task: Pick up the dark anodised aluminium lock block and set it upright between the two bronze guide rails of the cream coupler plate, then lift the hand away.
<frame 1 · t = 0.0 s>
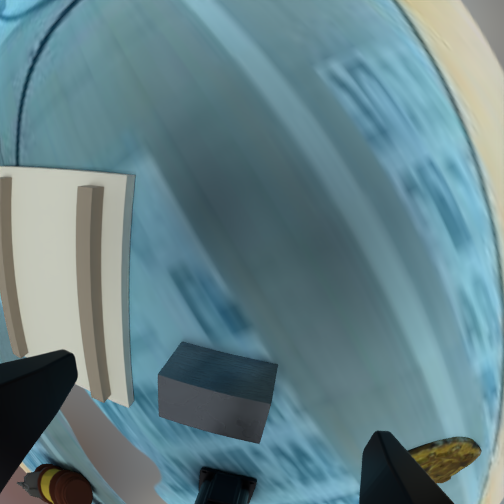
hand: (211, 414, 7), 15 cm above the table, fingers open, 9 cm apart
lock block: (226, 374, 25), on the table
seal: (424, 462, 25), on the table
coupler plate: (54, 283, 25), on the table
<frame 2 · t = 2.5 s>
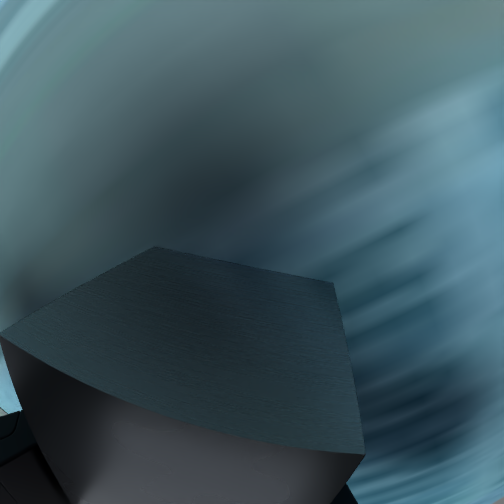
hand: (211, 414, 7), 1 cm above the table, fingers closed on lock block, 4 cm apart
lock block: (220, 391, 8), on the table, touching gripper
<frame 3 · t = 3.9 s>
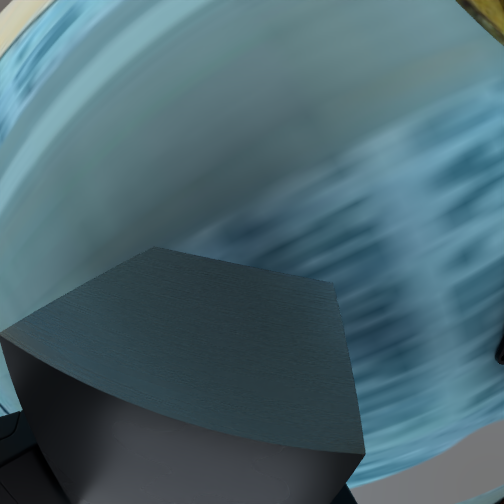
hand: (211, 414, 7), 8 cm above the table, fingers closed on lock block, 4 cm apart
lock block: (220, 391, 8), point 7 cm above the table, touching gripper
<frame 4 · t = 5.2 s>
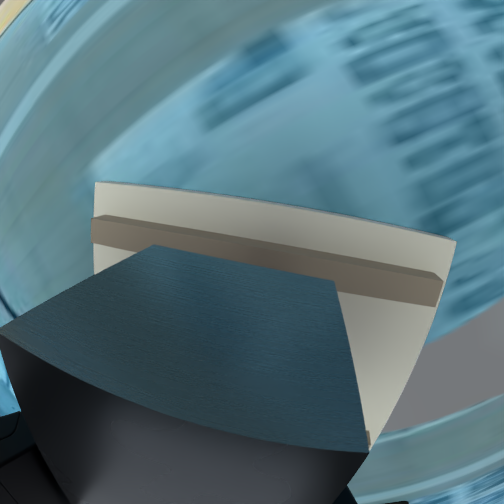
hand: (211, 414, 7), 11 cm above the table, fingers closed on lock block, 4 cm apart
lock block: (221, 390, 8), point 10 cm above the table, touching gripper
coupler plate: (248, 340, 20), on the table
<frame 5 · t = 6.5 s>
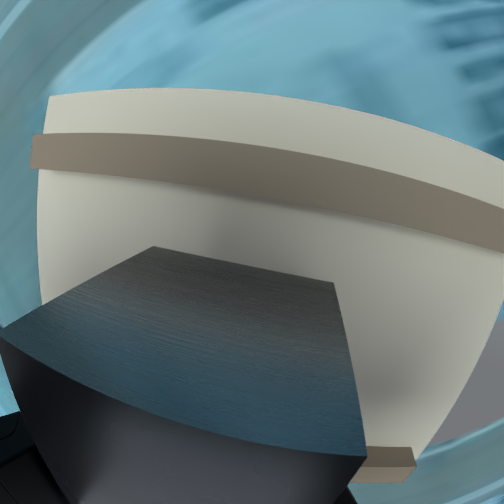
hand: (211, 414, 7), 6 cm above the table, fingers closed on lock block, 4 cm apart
lock block: (220, 392, 8), point 5 cm above the table, touching gripper
coupler plate: (247, 320, 13), on the table
when the fingers open (3 cm above the table, at t = 7.7 s): lock block drops 1 cm, resting on coupler plate.
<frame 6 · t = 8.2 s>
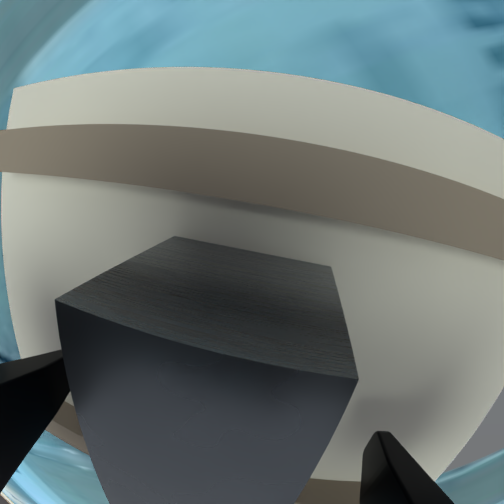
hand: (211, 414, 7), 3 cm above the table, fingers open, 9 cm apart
lock block: (231, 368, 10), point 1 cm above the table, touching coupler plate
coupler plate: (237, 349, 11), on the table
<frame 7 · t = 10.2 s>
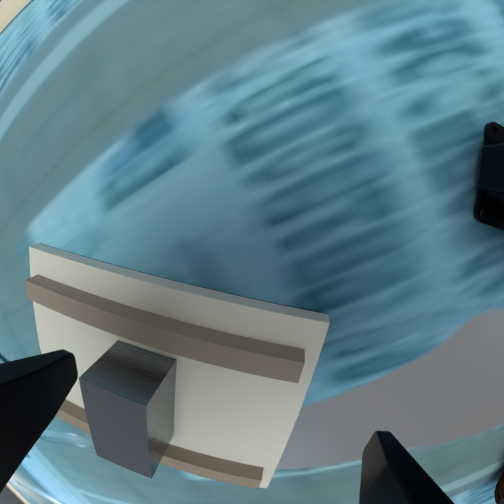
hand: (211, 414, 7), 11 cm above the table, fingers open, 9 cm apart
lock block: (146, 392, 20), point 1 cm above the table, touching coupler plate
coupler plate: (152, 383, 21), on the table
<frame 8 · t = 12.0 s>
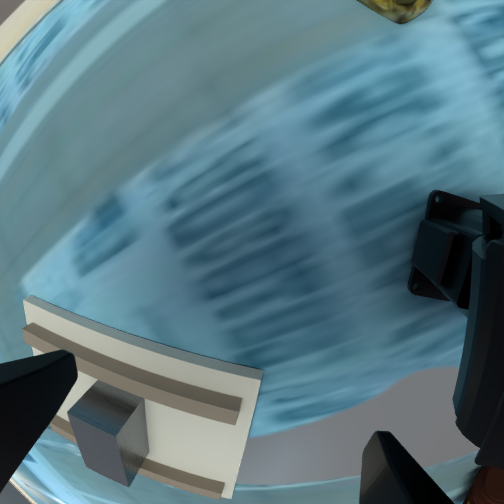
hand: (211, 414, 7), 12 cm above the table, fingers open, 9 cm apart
lock block: (124, 418, 23), point 1 cm above the table, touching coupler plate
coupler plate: (130, 410, 24), on the table
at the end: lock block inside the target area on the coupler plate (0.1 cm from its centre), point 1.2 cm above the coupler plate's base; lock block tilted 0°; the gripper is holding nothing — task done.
